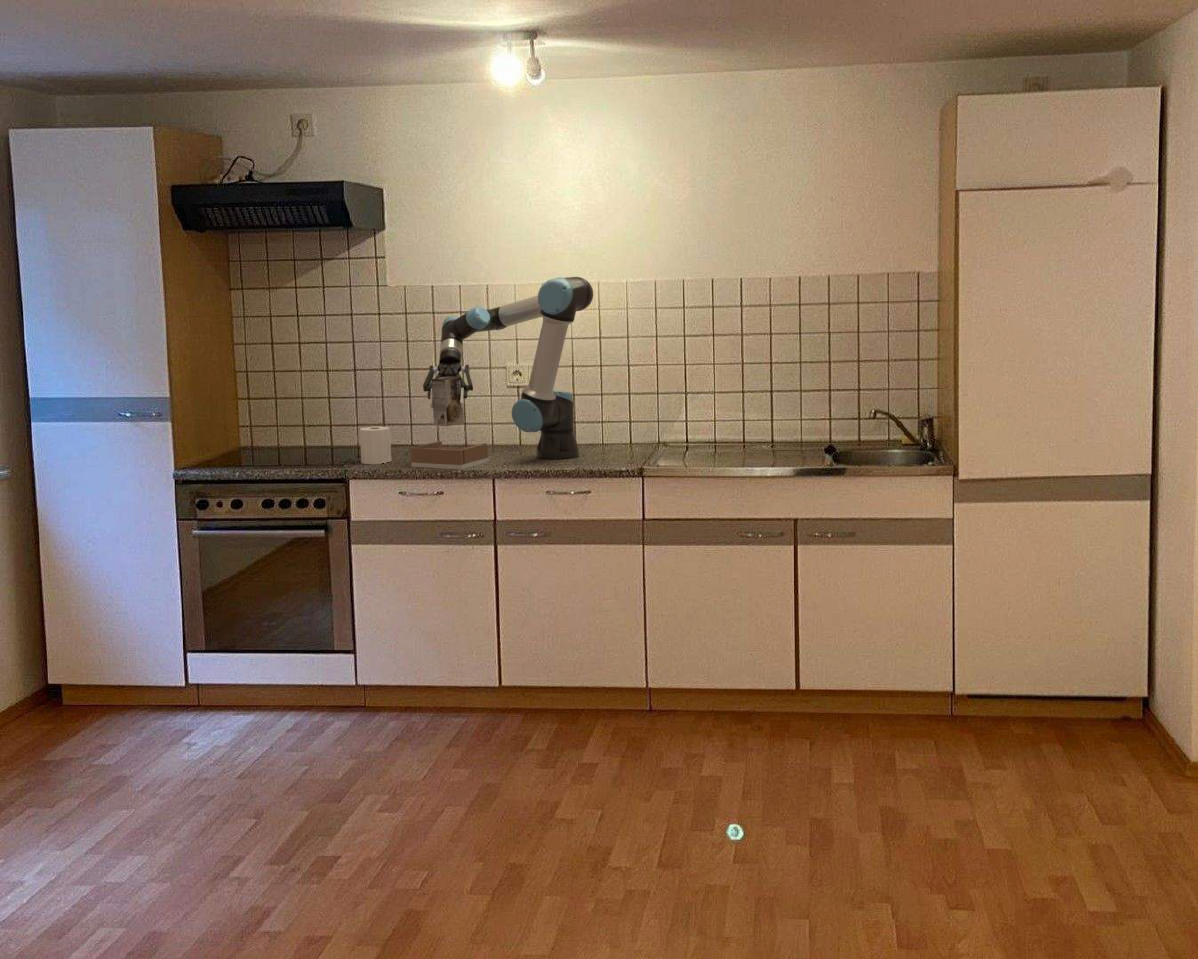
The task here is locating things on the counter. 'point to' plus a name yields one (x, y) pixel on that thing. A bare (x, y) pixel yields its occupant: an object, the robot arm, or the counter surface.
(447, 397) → the coffee box
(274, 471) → the counter surface
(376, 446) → the toilet paper
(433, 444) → the tray
